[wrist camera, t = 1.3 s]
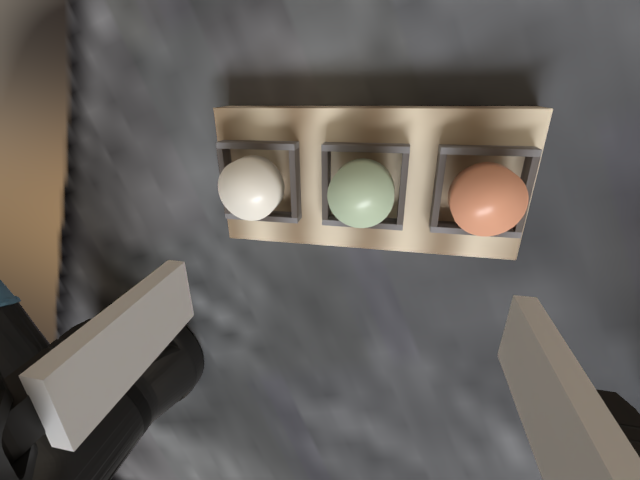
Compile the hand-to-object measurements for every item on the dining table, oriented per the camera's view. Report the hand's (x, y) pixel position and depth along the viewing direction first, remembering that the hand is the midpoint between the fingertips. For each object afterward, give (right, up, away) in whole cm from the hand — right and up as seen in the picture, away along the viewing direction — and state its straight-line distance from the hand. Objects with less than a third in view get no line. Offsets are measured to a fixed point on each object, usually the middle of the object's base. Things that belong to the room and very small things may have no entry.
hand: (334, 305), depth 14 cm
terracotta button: (+12, +6, +12) cm, 18 cm away
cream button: (-6, +7, +16) cm, 18 cm away
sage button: (+3, +7, +14) cm, 16 cm away
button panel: (+4, +9, +18) cm, 21 cm away
